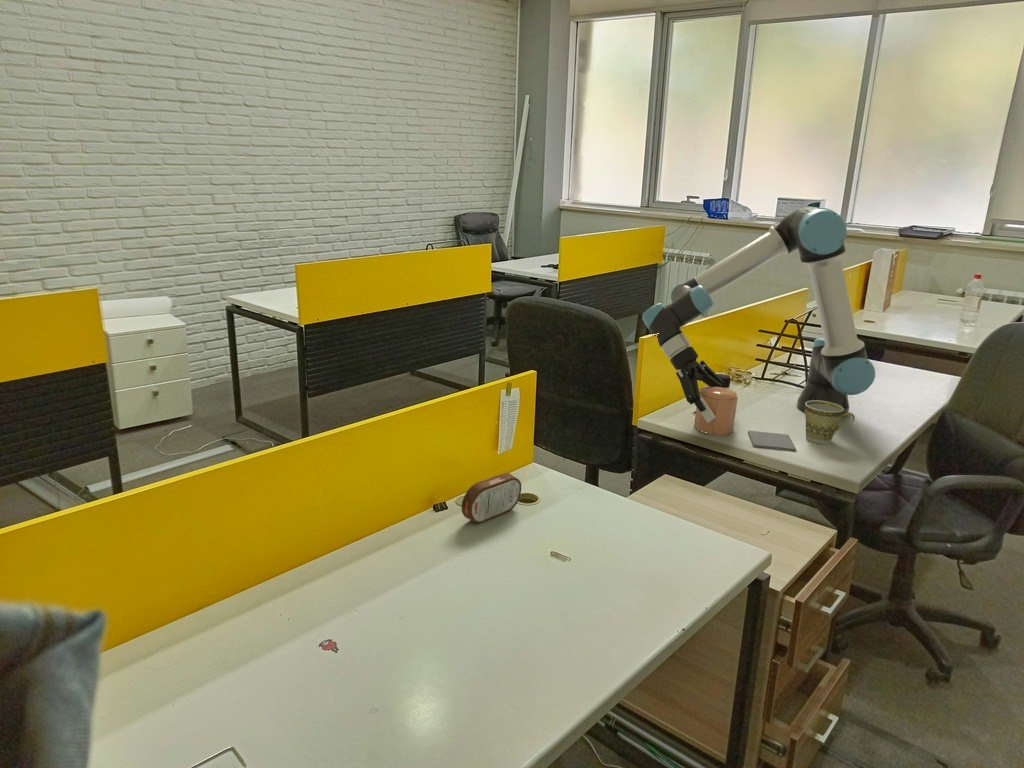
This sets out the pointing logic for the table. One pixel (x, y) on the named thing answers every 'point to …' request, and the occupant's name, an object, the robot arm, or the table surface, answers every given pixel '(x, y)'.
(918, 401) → the table surface
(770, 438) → the slate mat
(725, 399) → the peach domed post
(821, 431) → the ceramic cup
